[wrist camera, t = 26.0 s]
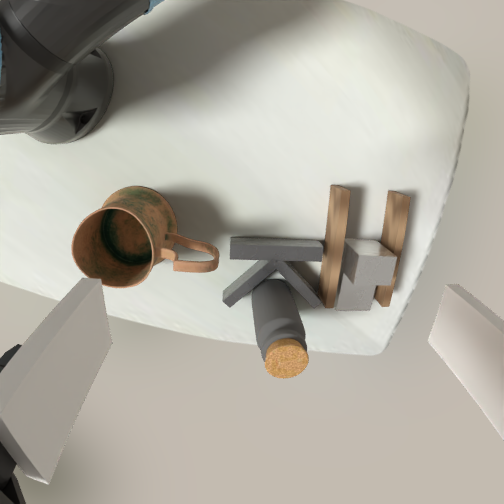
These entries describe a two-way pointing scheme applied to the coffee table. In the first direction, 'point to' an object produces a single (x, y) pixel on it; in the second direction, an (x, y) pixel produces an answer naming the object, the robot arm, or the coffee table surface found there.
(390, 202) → the parallel wooden rails
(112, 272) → the mug
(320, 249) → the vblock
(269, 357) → the bottle
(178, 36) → the coffee table surface
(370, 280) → the grey stepped block
